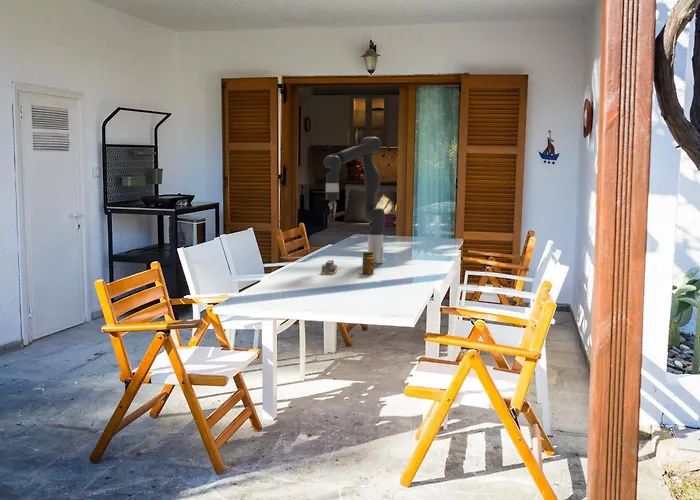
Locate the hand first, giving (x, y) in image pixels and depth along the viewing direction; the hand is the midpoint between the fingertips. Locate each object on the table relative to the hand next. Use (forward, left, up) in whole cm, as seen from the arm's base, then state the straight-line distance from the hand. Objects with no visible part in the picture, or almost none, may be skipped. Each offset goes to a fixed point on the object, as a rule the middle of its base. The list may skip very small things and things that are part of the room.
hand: (332, 221), depth 397 cm
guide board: (0, +10, -27) cm, 29 cm away
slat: (0, +14, -26) cm, 30 cm away
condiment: (-21, +19, -27) cm, 39 cm away
